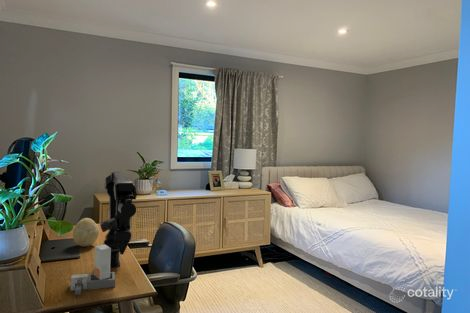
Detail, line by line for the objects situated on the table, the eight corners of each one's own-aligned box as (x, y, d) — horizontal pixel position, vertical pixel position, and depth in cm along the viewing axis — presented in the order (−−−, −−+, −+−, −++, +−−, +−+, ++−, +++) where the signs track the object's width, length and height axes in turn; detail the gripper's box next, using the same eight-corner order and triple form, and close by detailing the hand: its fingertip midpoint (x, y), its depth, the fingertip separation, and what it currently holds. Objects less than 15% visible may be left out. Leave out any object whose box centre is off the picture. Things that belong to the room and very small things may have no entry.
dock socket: (88, 281, 138) (88, 273, 138) (114, 278, 141) (114, 271, 141) (87, 289, 130) (87, 281, 130) (114, 286, 134) (115, 279, 134)
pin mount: (71, 284, 134) (72, 273, 134) (87, 282, 136) (88, 272, 136) (70, 290, 129) (70, 279, 128) (87, 289, 131) (87, 278, 130)
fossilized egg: (103, 244, 186) (104, 217, 185) (87, 251, 173) (88, 221, 173) (83, 241, 189) (84, 214, 188) (66, 247, 177) (67, 219, 176)
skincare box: (93, 275, 136) (94, 245, 136) (104, 272, 139) (105, 244, 139) (99, 280, 132) (100, 249, 132) (110, 277, 135) (111, 247, 134)
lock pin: (77, 282, 135) (77, 275, 135) (82, 282, 136) (83, 275, 136) (74, 295, 125) (75, 287, 125) (80, 294, 126) (81, 286, 126)
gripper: (103, 208, 143) (101, 244, 144) (100, 218, 126) (98, 259, 126) (130, 207, 147) (129, 243, 147) (131, 217, 129) (130, 258, 130)
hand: (121, 250), depth 138 cm, fingers open, 9 cm apart
